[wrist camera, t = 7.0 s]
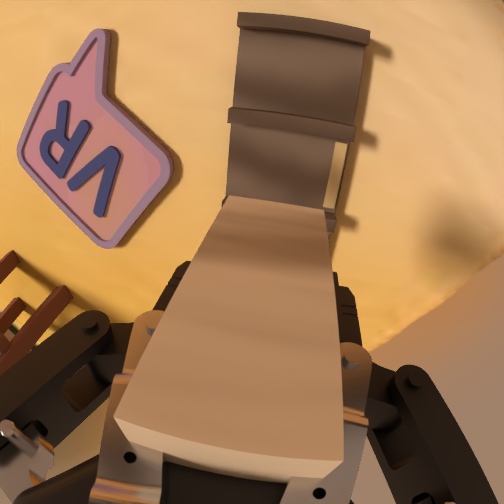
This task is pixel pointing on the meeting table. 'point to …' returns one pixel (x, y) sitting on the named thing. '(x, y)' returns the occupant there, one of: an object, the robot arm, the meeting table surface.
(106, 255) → the meeting table surface
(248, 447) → the oak block
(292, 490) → the robot arm
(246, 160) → the notched ledge
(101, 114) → the icon
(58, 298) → the stool
